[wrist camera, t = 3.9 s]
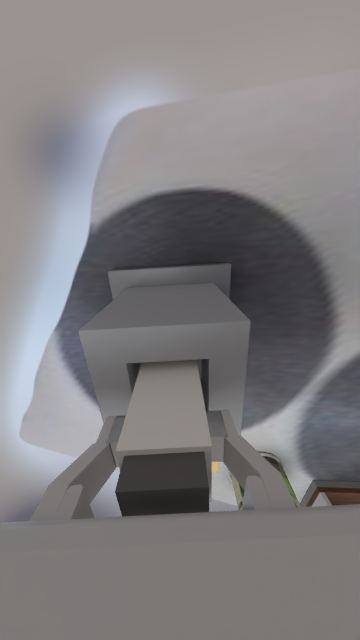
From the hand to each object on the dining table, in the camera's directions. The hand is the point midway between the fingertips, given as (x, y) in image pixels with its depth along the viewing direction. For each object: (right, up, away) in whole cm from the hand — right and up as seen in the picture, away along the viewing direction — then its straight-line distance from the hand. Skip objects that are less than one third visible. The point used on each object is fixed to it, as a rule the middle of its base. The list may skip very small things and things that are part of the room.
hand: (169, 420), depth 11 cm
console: (0, -2, +18) cm, 18 cm away
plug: (0, +2, +6) cm, 6 cm away
